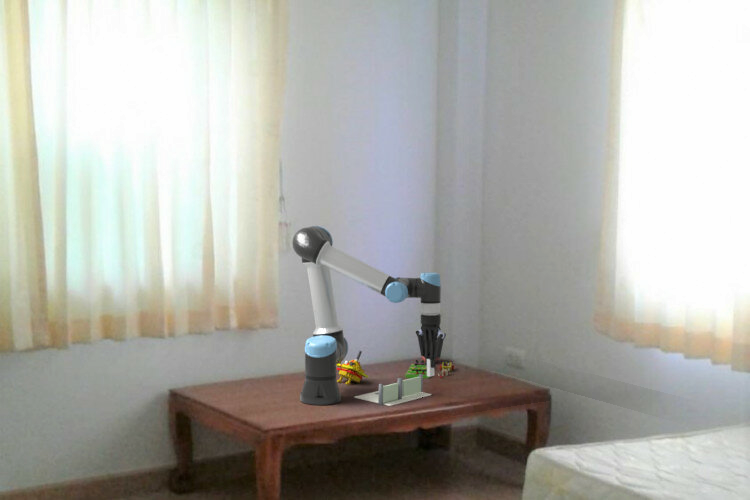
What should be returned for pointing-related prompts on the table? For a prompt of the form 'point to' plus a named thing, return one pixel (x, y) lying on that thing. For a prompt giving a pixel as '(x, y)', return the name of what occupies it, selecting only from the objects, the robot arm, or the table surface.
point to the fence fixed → (390, 391)
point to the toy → (351, 370)
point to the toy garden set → (422, 369)
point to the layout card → (375, 398)
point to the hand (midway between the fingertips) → (430, 375)
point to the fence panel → (412, 386)
